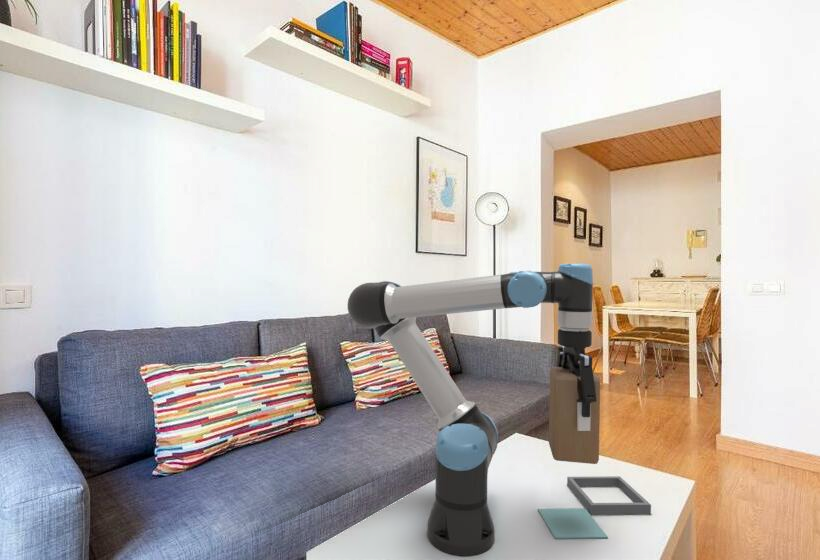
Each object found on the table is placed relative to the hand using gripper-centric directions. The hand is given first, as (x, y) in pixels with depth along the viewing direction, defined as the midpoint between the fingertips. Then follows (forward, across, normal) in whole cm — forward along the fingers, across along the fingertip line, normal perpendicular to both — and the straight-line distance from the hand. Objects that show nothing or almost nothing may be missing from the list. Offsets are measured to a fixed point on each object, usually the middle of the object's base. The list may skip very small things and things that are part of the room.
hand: (572, 421), depth 104 cm
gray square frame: (+24, +11, -14) cm, 30 cm away
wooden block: (+8, 0, 0) cm, 8 cm away
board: (+24, 0, 0) cm, 24 cm away
